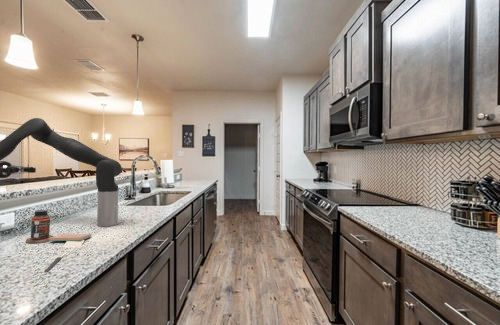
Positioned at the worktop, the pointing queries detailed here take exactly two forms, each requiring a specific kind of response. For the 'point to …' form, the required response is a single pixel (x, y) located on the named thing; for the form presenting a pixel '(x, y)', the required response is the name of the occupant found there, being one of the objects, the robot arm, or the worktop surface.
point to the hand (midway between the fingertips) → (24, 170)
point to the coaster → (38, 240)
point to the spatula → (67, 244)
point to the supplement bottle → (40, 225)
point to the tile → (70, 237)
